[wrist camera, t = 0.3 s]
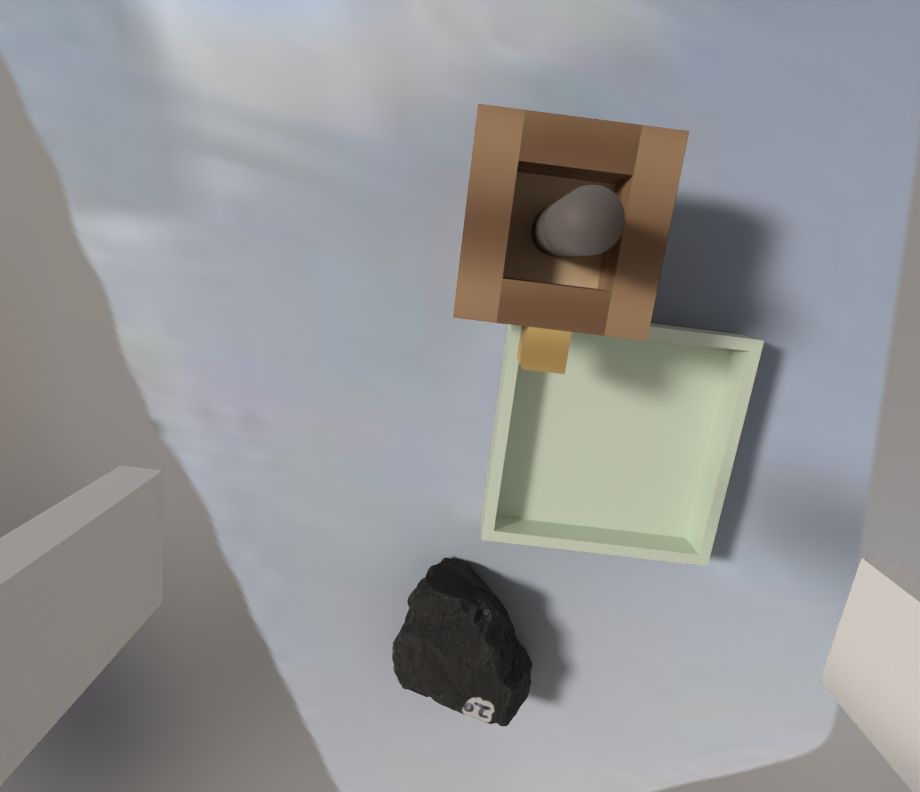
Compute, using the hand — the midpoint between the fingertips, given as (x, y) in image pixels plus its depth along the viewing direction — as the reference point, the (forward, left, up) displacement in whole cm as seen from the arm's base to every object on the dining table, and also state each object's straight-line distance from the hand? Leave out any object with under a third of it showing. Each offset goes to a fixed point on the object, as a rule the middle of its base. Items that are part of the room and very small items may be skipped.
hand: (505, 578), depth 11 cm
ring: (-8, +3, -19) cm, 21 cm away
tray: (+4, +9, -25) cm, 27 cm away
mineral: (+19, +1, -26) cm, 32 cm away
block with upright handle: (-8, +3, -25) cm, 27 cm away
